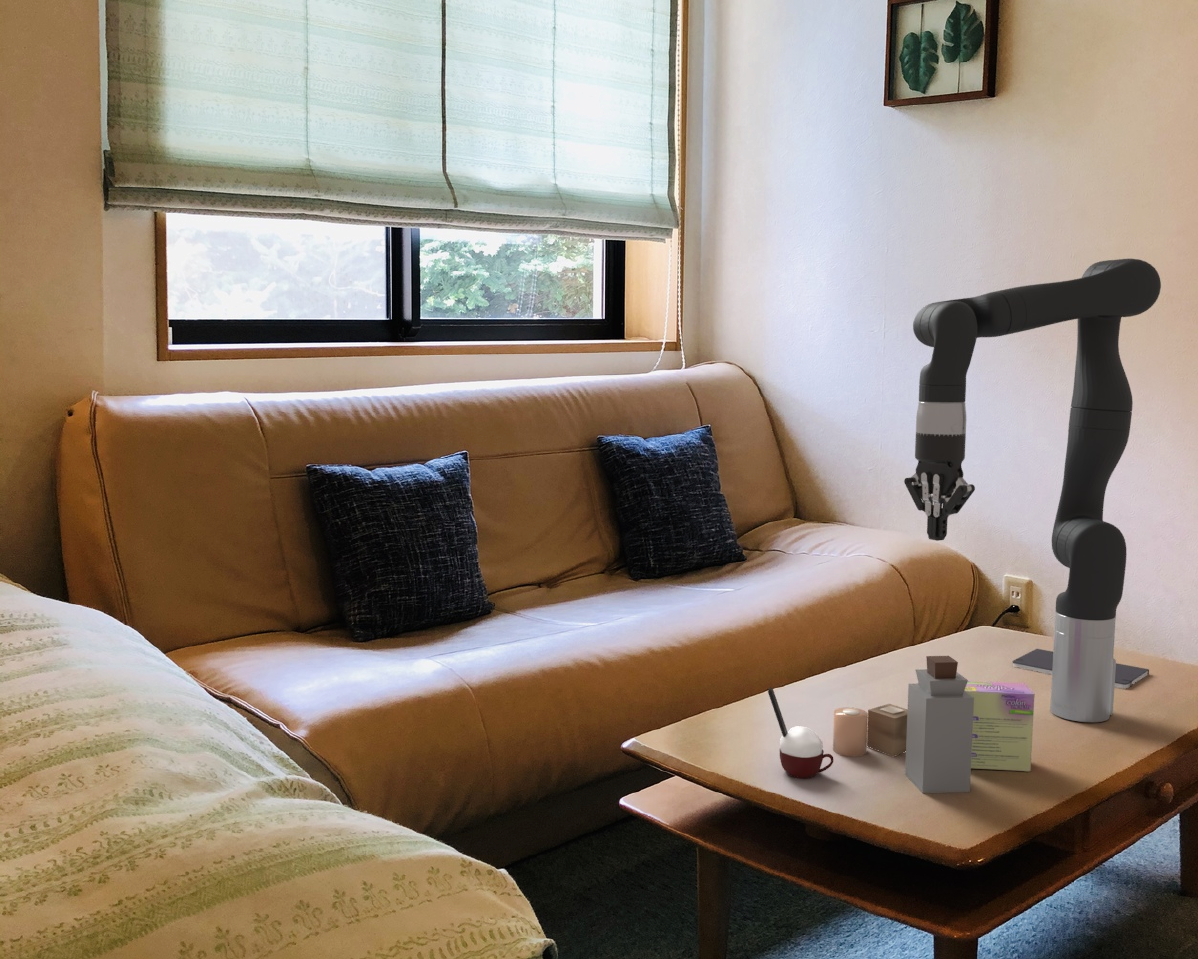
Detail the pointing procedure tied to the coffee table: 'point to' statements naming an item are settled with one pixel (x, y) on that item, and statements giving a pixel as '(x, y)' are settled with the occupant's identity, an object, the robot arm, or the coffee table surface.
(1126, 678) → the notebook
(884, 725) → the walnut block
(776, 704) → the cocoa
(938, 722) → the perfume bottle
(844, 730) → the terracotta cylinder
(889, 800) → the coffee table surface
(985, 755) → the box
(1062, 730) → the coffee table surface
